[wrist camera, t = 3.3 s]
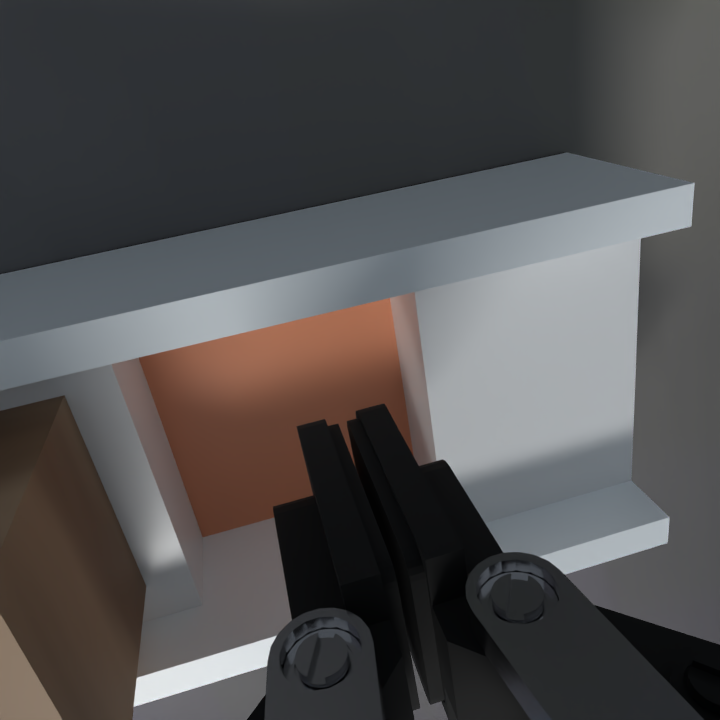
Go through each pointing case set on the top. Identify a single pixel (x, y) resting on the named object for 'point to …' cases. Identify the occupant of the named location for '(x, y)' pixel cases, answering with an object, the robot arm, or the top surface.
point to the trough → (351, 378)
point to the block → (62, 576)
